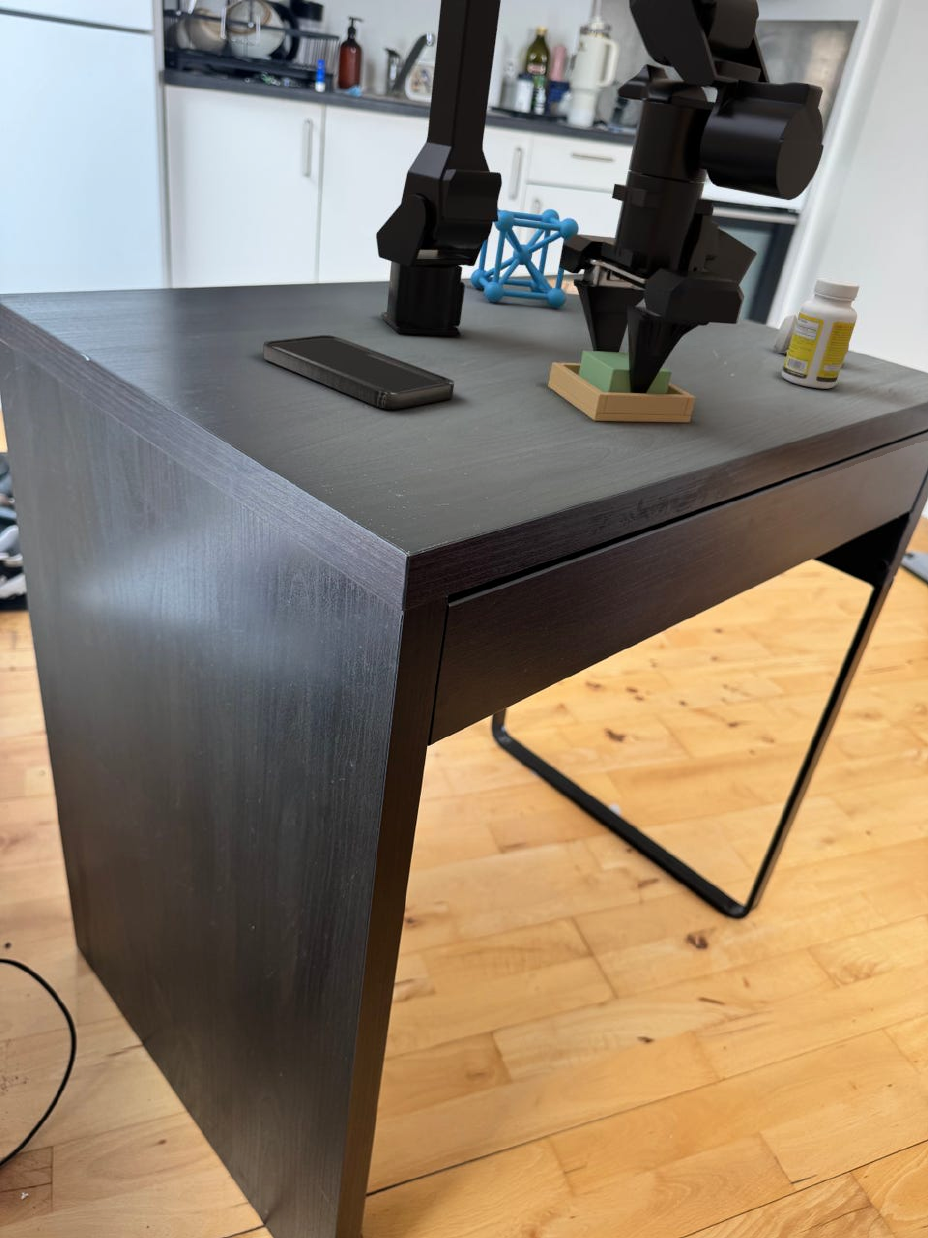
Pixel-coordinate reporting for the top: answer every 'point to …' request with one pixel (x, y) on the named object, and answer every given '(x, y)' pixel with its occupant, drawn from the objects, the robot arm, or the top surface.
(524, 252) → the molecular structure
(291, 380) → the top surface
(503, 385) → the top surface
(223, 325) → the top surface
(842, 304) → the supplement bottle
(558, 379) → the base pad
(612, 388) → the green pad
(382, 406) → the phone
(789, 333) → the smooth white sculpture
